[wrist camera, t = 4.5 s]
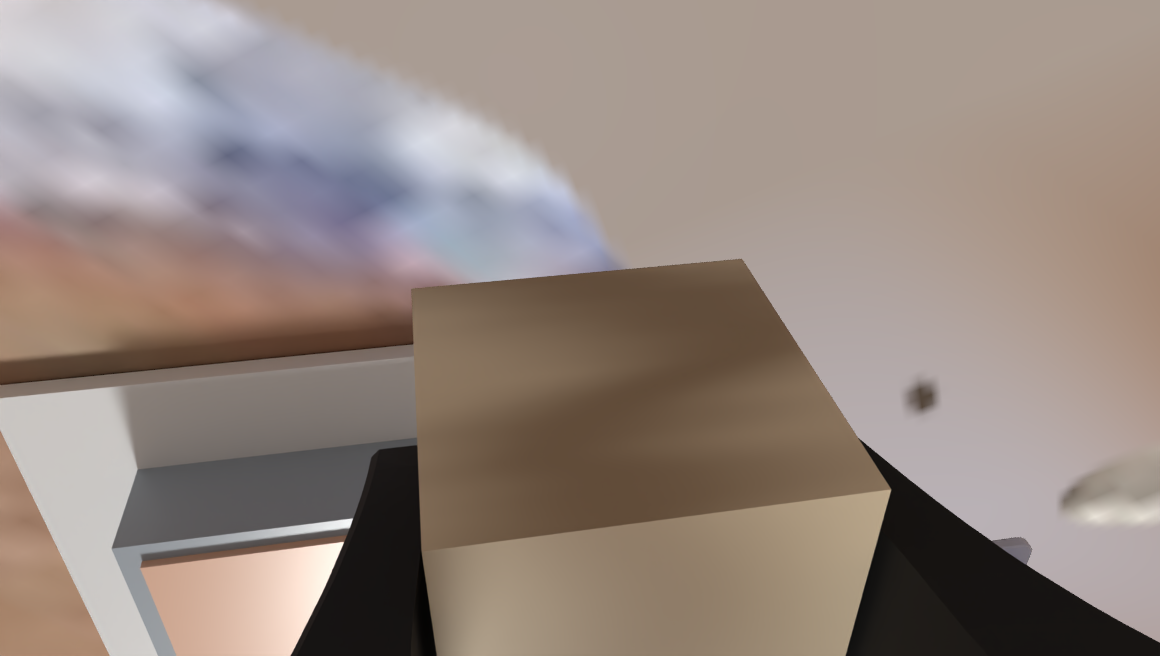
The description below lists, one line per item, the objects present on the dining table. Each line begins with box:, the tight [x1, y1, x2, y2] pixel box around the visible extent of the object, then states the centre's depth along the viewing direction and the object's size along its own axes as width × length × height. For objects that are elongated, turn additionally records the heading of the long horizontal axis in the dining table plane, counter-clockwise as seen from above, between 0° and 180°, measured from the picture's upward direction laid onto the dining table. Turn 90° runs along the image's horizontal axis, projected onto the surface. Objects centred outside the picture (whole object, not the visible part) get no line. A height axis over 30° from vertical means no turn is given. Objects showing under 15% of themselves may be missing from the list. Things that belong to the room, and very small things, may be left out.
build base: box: [0, 344, 417, 656], centre depth 23 cm, size 14×12×3 cm
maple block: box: [411, 259, 891, 656], centre depth 11 cm, size 4×4×4 cm
